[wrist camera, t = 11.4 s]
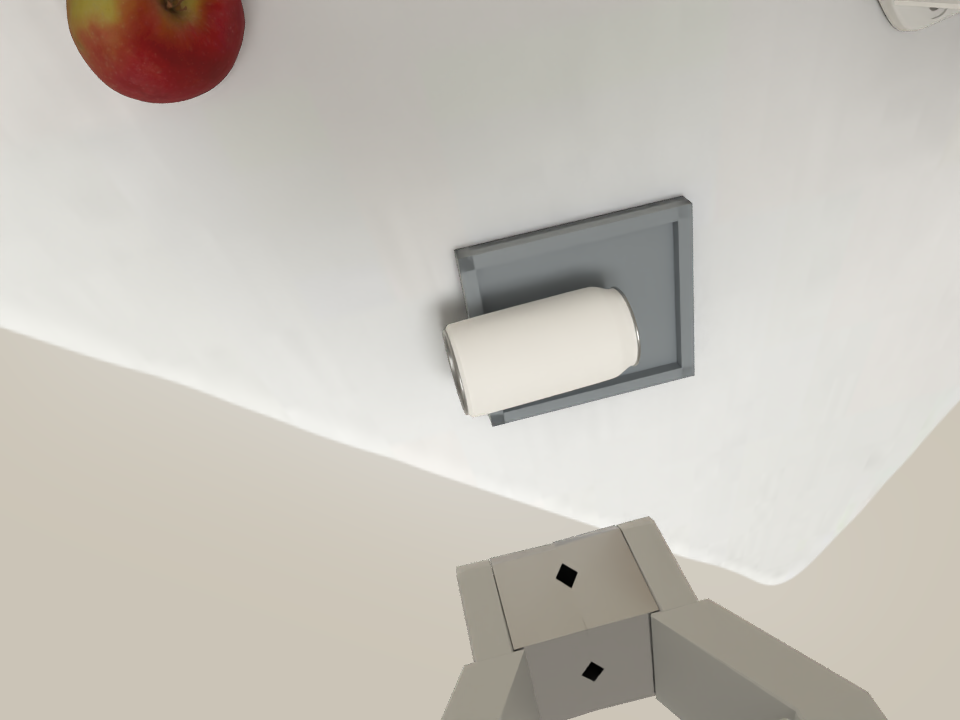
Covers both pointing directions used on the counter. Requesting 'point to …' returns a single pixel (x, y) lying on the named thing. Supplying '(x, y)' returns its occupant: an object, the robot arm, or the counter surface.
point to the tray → (599, 263)
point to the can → (541, 348)
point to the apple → (158, 44)
